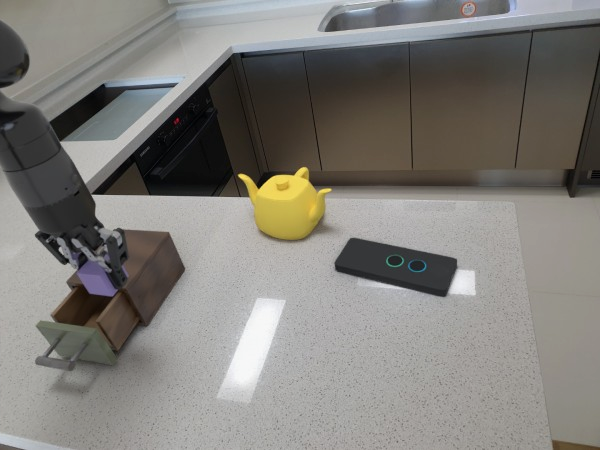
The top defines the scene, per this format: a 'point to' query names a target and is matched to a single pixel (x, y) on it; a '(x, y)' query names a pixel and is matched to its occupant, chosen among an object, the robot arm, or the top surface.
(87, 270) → the lavender cube
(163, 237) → the cabinet
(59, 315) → the drawer
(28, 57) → the robot arm
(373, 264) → the smart home device
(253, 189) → the teapot
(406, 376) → the top surface
